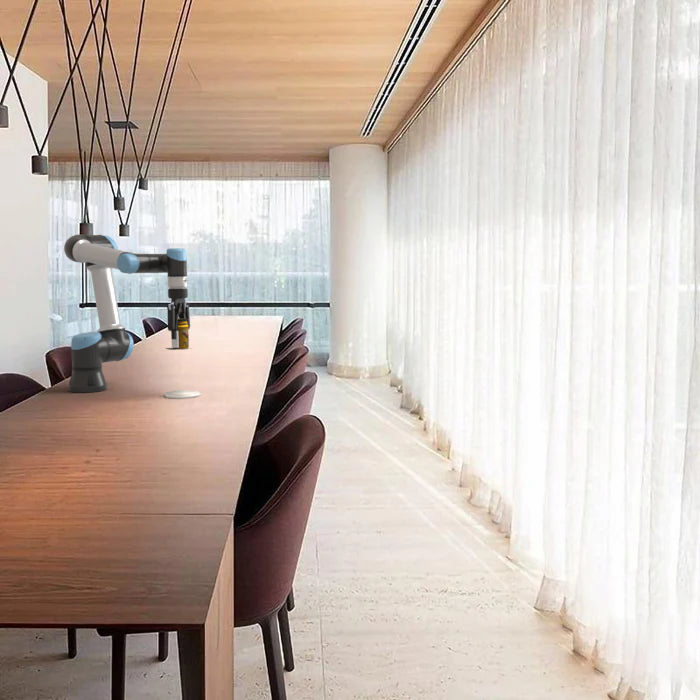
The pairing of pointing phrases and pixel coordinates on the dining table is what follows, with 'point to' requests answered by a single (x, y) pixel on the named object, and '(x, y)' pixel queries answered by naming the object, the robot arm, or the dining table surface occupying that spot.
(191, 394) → the plate
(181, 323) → the condiment
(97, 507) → the dining table surface
